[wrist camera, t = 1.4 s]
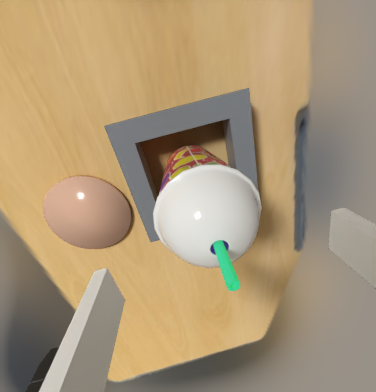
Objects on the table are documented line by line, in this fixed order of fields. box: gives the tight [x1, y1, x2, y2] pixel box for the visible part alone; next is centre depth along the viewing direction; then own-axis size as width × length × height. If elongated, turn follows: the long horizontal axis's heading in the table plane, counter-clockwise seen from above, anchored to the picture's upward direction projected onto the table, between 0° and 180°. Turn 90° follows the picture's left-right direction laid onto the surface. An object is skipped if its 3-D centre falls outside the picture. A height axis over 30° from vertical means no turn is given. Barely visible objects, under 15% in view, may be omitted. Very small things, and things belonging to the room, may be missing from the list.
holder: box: [104, 88, 258, 242], centre depth 26 cm, size 16×16×4 cm
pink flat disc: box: [43, 176, 131, 249], centre depth 29 cm, size 12×12×1 cm
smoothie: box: [153, 145, 262, 291], centre depth 18 cm, size 8×8×20 cm
